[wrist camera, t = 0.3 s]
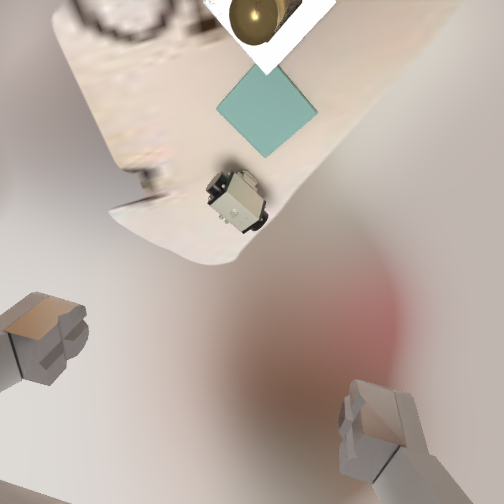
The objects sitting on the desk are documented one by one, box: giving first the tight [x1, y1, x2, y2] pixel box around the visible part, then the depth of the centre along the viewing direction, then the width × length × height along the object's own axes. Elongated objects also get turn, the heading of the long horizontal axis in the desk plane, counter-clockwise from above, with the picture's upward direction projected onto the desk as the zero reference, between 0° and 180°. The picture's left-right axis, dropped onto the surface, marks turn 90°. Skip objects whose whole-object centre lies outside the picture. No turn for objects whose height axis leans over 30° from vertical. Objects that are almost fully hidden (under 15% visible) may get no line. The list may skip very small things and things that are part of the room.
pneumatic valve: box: [206, 170, 268, 234], centre depth 60 cm, size 6×12×12 cm, turn 46°
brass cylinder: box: [229, 0, 291, 46], centre depth 39 cm, size 5×5×14 cm
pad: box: [216, 64, 317, 158], centre depth 54 cm, size 12×12×1 cm
